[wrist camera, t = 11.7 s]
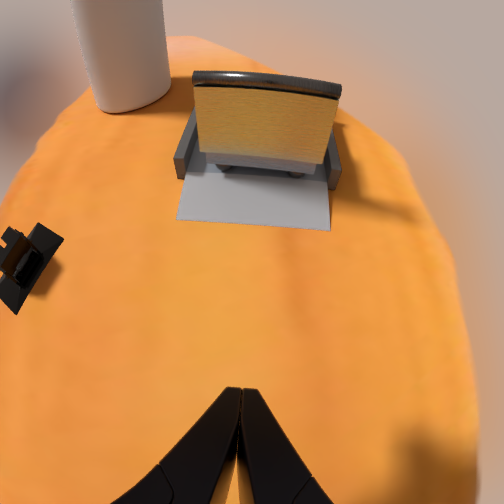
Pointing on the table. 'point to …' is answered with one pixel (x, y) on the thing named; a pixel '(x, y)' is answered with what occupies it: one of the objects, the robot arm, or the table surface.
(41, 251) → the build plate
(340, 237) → the table surface
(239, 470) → the robot arm
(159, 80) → the cylinder vase
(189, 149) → the dock
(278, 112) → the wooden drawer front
